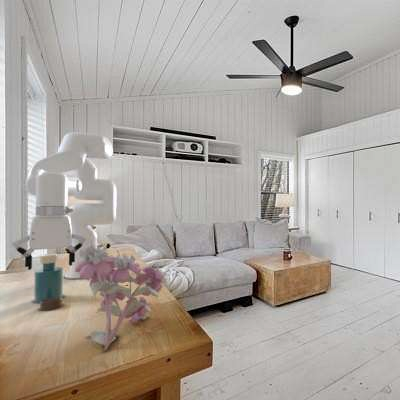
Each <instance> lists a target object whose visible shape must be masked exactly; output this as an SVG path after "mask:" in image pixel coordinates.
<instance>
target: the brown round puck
mask: <svg viewBox="0 0 400 400" xmlns="http://www.w3.org/2000/svg"><path fill="white" fill-rule="evenodd" d="M62 306H63V297H62V298H61V297H52V298H47V299H43V300H41V301H40V303H39V310H40V311H53V310H56V309H59V308H61V307H62Z"/></svg>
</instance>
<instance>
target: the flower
mask: <svg viewBox="0 0 400 400" xmlns="http://www.w3.org/2000/svg"><path fill="white" fill-rule="evenodd" d="M85 250H86V251H84V250H82V249H81V250H80V253H79V255H80V256H81V257H83V260H81V261H79V262H78V263H77V265H76V266H75V272H79V276H80V278H79V279H81V280H85V281H89V287H90V290H91V292H92V294H93V298H95V297H96V295H97V293H98V292H99V295H100V296H101V297H102V298H103V299H102V300H101V301H100V303H99V308H98V309H97V311H96V314H98V313H99V312H105V315H106V325H105V329H97V330H91V331H88V333H89V338H91V340H92V341H93V342H94V343H95V342H96V343H98V344H100V345H103V346H104V348H103V350H104V351H108V348H109V347H110V345H111V343H113V342H114V341H115V340H116V339H117V337H116V334H117V333H118V331H119V328H120V326H121V325H122V323H123V322H124V320H125V319H127V320H128V319H129V320H128V324H134V323H138V322H139V320H141V321H144V320H146V319H147V315H148V314H150V313H151V312H152V309H151V308H149V306H150V305H151V304H150V303H148V301H147V298H145V297H150V295H151V296H152V297H155V300H158V297H159V293H160V292H161V289H162V288H163V284H165V283H166V282H167V280H168V278H166V277H165V276H167V271H162V270H160V266H157V267H153V266H150V265H146V266H142V267H141V266H140V264H139V263H138V262H135V261H136V260H137V258H136V256H135V255H134V254H131V255H130V256H129V253H128V252H127V253H123V254H122V257H121V254H120V250H117V254H118V255H116V256H111V255H110V256H109V253H108V252H107V244H104V245H103V247H102V249H101V246H97V249H95V248H94V246H93V243H91V244H90V245H89V246H88V248H87V249H86V248H85ZM81 268H82V269H81ZM115 268H116V269H115ZM80 270H81V271H80ZM130 272H133V273H134V274H136V276H135V278H134V277H133V276H130ZM141 272H144V273H141ZM127 282H128V283H129V287H125V286H122V285H120V284H124V283H127ZM119 283H120V284H119ZM132 283H133V284H136V285H138V286H137V287H136V288H135V289H134V291H133V292H132ZM143 285H144V286H143ZM140 295H141V296H140ZM138 296H139V298H138V299H137V297H138ZM125 298H128V299H127V300H126V301H125V302H126V304H125V306H124V308H122V309H121V307H120V305H119V303H118V300H119V301H123V300H125ZM113 303H114V304H113ZM112 315H113V316H114V317H118V319H117V322H116V324H115V326H114V327H113V329H112Z"/></svg>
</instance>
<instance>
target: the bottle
mask: <svg viewBox="0 0 400 400" xmlns="http://www.w3.org/2000/svg"><path fill="white" fill-rule="evenodd" d="M58 262H59V253H55V252H54V253H43V254H40V255H39V264H42V268H39V269H36V270H34V282H33V283H34V289H33V290H34V291H33V292H34V293H33V294H34V295H33V301H34V303H37V304H40V301H41V300H43V299H47V298H52V297H61V298H62V299H63V285H64V284H63V283H64V282H63V280H64V279H63V276H64V275H63V274H64V272H63V267H61V266H56V263H58Z"/></svg>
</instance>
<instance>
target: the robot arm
mask: <svg viewBox="0 0 400 400" xmlns="http://www.w3.org/2000/svg"><path fill="white" fill-rule="evenodd" d="M113 153H114V149H113V144H112V142H111V140H109V139H108V137H106V136H105V135H103V134H100V133H93V132H92V133H91V132H82V131H81V132H80V131H71V132H67V133H66V134H65V135H64V136H63V138H62V140H61V142H60V145H59V146H58V149H57V151H56V153H53V154H50V155H49V156H46V157H44V158H42V159H39V160H38V161H36V162H35V163H34V164H33V165H32V166H31V168H30V170H29V172H28V174H27V176H26V178H25V189H26V191H27V192H28V193H29V195H31V196H35V216H32V218H31V221H30V226H29V235H27V236H24V237H22V238H20V239H17V240H15V241H13V242H12V246H13V248H14V249H15V250H16V251H17V252H18V253H19V254H21V255H23V256H24V262H25V263H24V267H25V268H27V270H28V271H31V270H32V269H33V255H32V253H33V252H35V251H36V250H37V251H38V250H52V249H68V250H69V252H68V266H69V272H67V273H65V274H64V277H65V278H66V279H70V280H71V279H72V280H75V279H77V280H78V279H81V278H80V276H79V272H75V266H76V265H77V263H78V262H79V261H81V260H83V257H81V256H80V255H79V253H80V250H81V249H82V250H84V251H86V250H85V248H86V249H87V248H88V246H89V245H90V244H91V243H93V246H94V248H95V249H97V247H98V235H97V232H96V230H95V229H94V228H92V226H100V225H101V226H102V225H103V226H105V225H112V224H113V223H115V221H116V219H117V186H116V183H115V182H114V181H113V180H111V179H102V178H101V179H98V167H97V166H96V165H95V163H94V162H93V161H92V160H91V159H99V160H108V159H110V158H111V157H112V155H113ZM72 171H73V174H70V173H69V174H67V173H68V172H72ZM65 173H66V174H65ZM68 197H74V198H75V200H79V201H102V202H103V203H95V202H94V203H91V202H89V203H88V202H84V203H83V202H82V203H81V202H80V203H74V204H72V205H71V206H70V207H68ZM26 242H28V246H29V248H28V249H25V248H24V247H23V246H22V245H21V244H23V243H26ZM81 269H82V268H81ZM80 271H81V270H80Z"/></svg>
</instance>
